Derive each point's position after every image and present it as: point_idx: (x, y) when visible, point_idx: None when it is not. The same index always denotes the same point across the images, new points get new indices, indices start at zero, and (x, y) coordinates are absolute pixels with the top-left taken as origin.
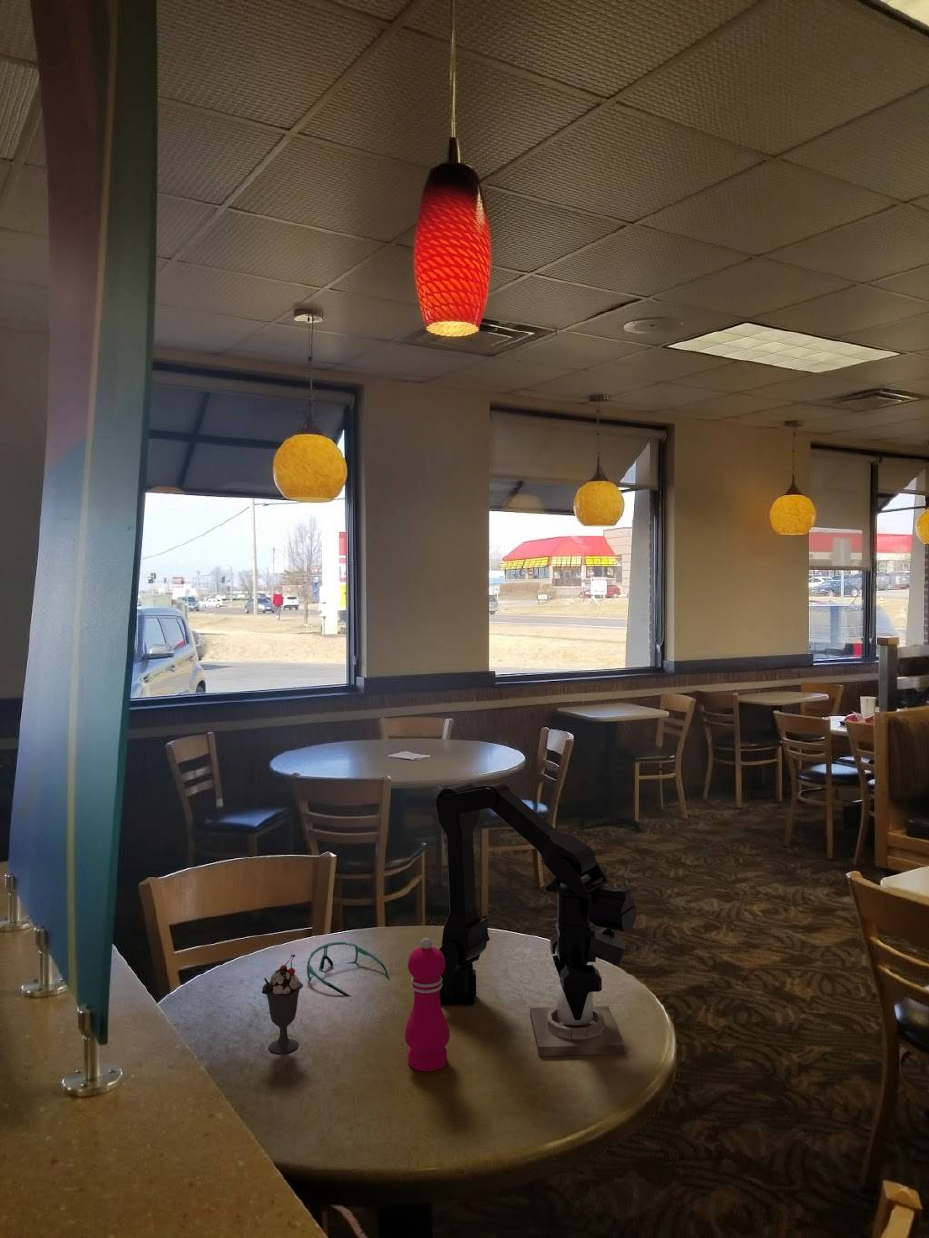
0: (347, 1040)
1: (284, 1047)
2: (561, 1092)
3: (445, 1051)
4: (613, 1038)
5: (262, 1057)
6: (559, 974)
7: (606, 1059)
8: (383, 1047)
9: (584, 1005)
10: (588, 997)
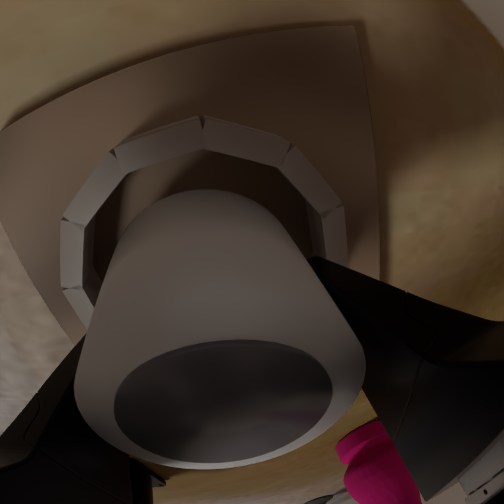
0: (302, 491)
1: (327, 500)
2: (496, 227)
3: (378, 437)
4: (303, 66)
5: (337, 497)
6: (130, 498)
7: (381, 103)
8: (320, 473)
9: (391, 285)
10: (316, 290)
